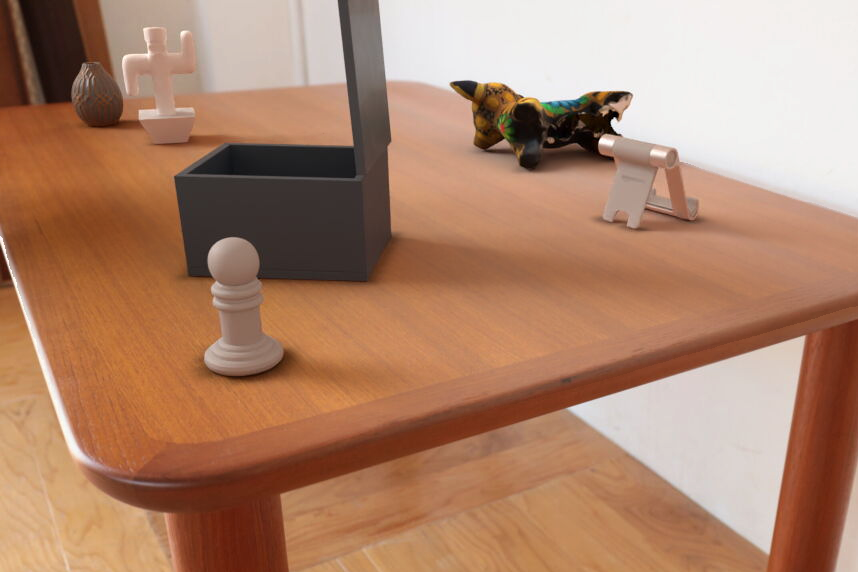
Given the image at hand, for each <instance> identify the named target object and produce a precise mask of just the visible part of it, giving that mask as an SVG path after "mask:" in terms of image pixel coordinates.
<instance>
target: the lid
mask: <svg viewBox="0 0 858 572" xmlns="http://www.w3.org/2000/svg"><path fill="white" fill-rule="evenodd" d="M337 10H338V18H339V26H340V35H341V44H342V53H343V62H344V72H345V81H346V89H347V90H346V91H347V99H348V100H347V101H348V107H349V116H350V117H349V118H350V126H351V127H350V128H351V136H352V146H354V154H355V163H356V172H357V175H367V173H368V172H369V171H370V169H371V168H372V167H373V165H374V164H375V163H376V161H377V160H378V159H379V157H380V156H381V155H382V153H383V152H384V151H385V149H386V148H387V147H389V145H390V144H391V143H392V131H391V119H390V111H389V109H390V108H389V99H388V88H387V78H386V66H385V57H384V44H383V35H382V33H383V32H382V24H381V13H380V3H379V0H337Z"/></svg>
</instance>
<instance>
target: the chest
mask: <svg viewBox="0 0 858 572" xmlns="http://www.w3.org/2000/svg"><path fill="white" fill-rule="evenodd" d="M388 147H389V146H388ZM388 147H387V148H386V149H385V151H384V152H383V153H382V155H381V156H380V157H379V159H378V160H377V161H376V163H375V164H374V165H373V167H372V168H371V169H370V171H369V172H368V173H367V175H357V172H356V163H355V154H354V145H338V144H337V145H336V144H299V143H298V144H296V143H294V144H293V143H257V142H255V143H254V142H223V143H222V144H221V145H219V146H217V147H216V148H214V149H213V150H211V151H210V152H208V153H207V154H205V155H203V156H202V157H201V158H199V159H197V160H196V161H195V162H193V163H191V164H190V165H188V166H187V167H185V168H184V169H182V170H180V171H179V172H177V173H176V174H174V176H173V180H174V187H175V195H176V200H177V209H178V214H179V222H180V228H181V235H182V241H183V249H184V257H185V262H186V267H187V276H188V277H208V278H209V277H211V278H213V276H212V275H211V273H210V271H209V267H208V254H209V251H210V249H211V248H212V246H213V245H214V244H215V243H217V242H218V241H220V240H222V239H225V238H230V237H236V238H241V239H244V240H246V241H248V242H249V243H251V244H252V245H253V246H254V248H255V249H256V251H257V253H258V256H259V270H258V273H257V275H256V277H257V279H274V280H275V279H278V280H280V279H281V280H282V279H284V280H313V281H315V280H316V281H345V282H346V281H347V282H348V281H349V282H368V281H369V279H370V277H371V275H372V273H373V271H374V269H375V267H376V265H377V263H378V261H379V260H380V257H381V256H382V254H383V252H384V250H385V249H386V246H387V244H388V242H389V241H390V239H391V237H392V218H391V216H392V215H391V195H390V193H391V192H390V171H389V170H390V168H389V149H388Z"/></svg>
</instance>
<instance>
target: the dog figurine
mask: <svg viewBox="0 0 858 572" xmlns="http://www.w3.org/2000/svg"><path fill="white" fill-rule="evenodd" d="M449 87H450V88H452V90H454V91H455V92H456V93H457V94H458V95H460V97H462V98H463V99H465V100H468V101H471V111H472V118H473V119H472V122H473V127H474V128H475V132H474V137H473V141H472V143H473V145H474V146H475V147H476V148H478V149H480V150H482V151H486V150H488V149H490V148H492V147H494V146H495V145H497V144H499V143H501V142H503V141H506V142H507V143H508V144H509V146H510V147H511V149H512V150H513V152H514V154H515V155H516V156H517V163H518V166H519V167H520V168H523V169H526V170H531V169H535V168H537V167H538V166H539V164H540V163H541V160H542V156H543V155H542V154H543V149H547V150H555V149H561V148H563V147H567V146H569V145H573V144H575V145H578V146H579V147H581V148H582V149H584V150H585V151H586V152H589V153H594V154H600V155H602V154H601V153H600V152H599V149H598V144H599V140H600V138H601V137H602V136H603V135H604V134H610V135H615V136H619V137H624V135H622V134H621V133H618V132H617V131H616V130H615V129H614V127H613V126H612V120H613V121H614V120H616V121H617V123H620V122H621V121H622V119H623V115H624V112H625V111H626V110H627V109H628V108H629V107H630V105H631V102H632V100H633V98H634V94H633V93H632V92H630V91H626V90H605V91H604V90H597V91H589V92H587V93H584V94H582V95H581V96H580V97H578V98H576V99H562V100H561V99H560V100H552V101H540V100H539V99H538V98H535V97H531V96H526V97H524V96H523V95H521V94H518V93H516V91H515V90H514V89H512V88H511V87H509V85H507V84H505V83H501V82H496V81H495V82H494V81H493V82H492V81H491V82H484V83H480V82H477V81H475V80H471V79H470V80H469V79H464V80H453V81H450V82H449ZM604 157H606V158H607V159H614V157H611V156H607V155H604Z"/></svg>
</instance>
